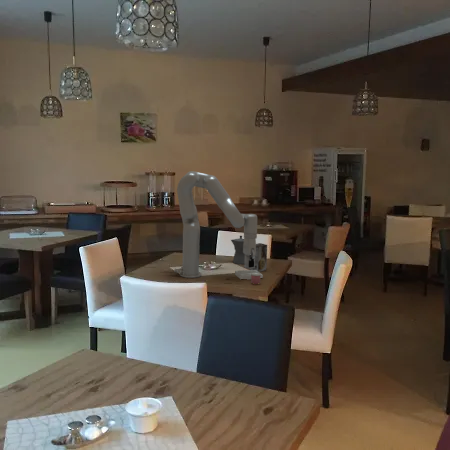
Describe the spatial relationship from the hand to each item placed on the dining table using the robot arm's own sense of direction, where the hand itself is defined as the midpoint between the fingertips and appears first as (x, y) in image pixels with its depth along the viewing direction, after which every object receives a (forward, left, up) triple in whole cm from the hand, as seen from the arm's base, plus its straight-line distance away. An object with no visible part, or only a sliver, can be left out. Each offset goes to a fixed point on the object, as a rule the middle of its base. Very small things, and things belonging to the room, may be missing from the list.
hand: (249, 265), depth 298 cm
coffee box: (+11, +14, -7) cm, 19 cm away
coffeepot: (+7, +35, -7) cm, 36 cm away
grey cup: (0, 0, -1) cm, 1 cm away
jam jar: (-1, -15, -7) cm, 16 cm away
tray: (0, 0, -7) cm, 7 cm away
